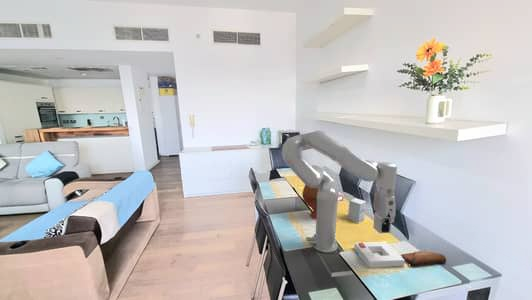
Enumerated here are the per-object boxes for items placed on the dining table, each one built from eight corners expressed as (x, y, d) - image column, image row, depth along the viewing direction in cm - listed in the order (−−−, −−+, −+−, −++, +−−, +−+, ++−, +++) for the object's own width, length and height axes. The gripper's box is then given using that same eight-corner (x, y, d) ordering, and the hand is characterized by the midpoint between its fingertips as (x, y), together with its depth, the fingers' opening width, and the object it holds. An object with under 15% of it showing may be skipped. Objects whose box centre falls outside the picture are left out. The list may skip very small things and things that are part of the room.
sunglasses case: (429, 251, 108) (437, 244, 104) (440, 266, 103) (449, 260, 99) (397, 255, 105) (404, 248, 101) (406, 271, 100) (414, 264, 95)
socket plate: (368, 267, 96) (369, 259, 96) (354, 248, 110) (354, 241, 110) (404, 266, 98) (405, 258, 97) (385, 247, 111) (385, 240, 111)
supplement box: (358, 223, 135) (360, 204, 133) (347, 219, 140) (348, 200, 138) (364, 220, 139) (366, 201, 137) (353, 215, 145) (355, 197, 143)
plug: (390, 232, 99) (391, 216, 98) (379, 233, 99) (380, 217, 98) (383, 227, 104) (385, 211, 103) (373, 227, 104) (374, 212, 103)
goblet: (299, 221, 137) (301, 182, 133) (303, 208, 155) (305, 174, 151) (331, 226, 132) (334, 185, 127) (332, 212, 150) (334, 176, 146)
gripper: (406, 197, 90) (401, 238, 93) (381, 184, 107) (378, 219, 110) (388, 197, 90) (384, 239, 93) (366, 184, 107) (364, 220, 110)
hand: (381, 228), depth 101 cm, fingers closed on plug, 5 cm apart
